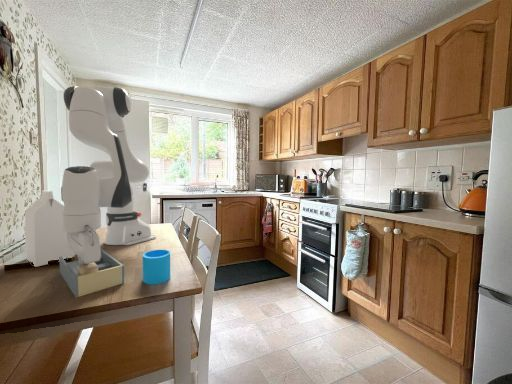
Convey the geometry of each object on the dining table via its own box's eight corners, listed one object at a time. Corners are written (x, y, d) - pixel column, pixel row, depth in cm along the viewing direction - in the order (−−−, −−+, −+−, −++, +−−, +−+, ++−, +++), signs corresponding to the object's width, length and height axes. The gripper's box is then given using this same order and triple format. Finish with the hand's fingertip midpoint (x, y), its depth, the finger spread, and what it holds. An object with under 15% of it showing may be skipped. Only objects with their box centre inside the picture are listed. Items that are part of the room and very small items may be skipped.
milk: (74, 257, 92) (72, 190, 90) (35, 266, 83) (31, 192, 81) (62, 251, 99) (60, 189, 97) (25, 259, 89) (21, 190, 87)
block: (94, 275, 70) (94, 262, 70) (98, 279, 68) (98, 265, 67) (77, 279, 67) (77, 265, 67) (81, 284, 65) (80, 270, 64)
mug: (172, 281, 75) (172, 255, 74) (143, 286, 71) (143, 259, 70) (166, 267, 85) (166, 245, 84) (141, 271, 81) (140, 248, 80)
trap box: (101, 263, 87) (101, 248, 87) (124, 282, 72) (123, 265, 72) (59, 273, 78) (59, 256, 78) (75, 297, 64) (75, 277, 63)
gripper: (106, 227, 64) (108, 277, 65) (86, 216, 78) (87, 257, 79) (78, 231, 59) (79, 284, 60) (62, 219, 73) (63, 263, 74)
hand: (84, 269), depth 70 cm, fingers closed
